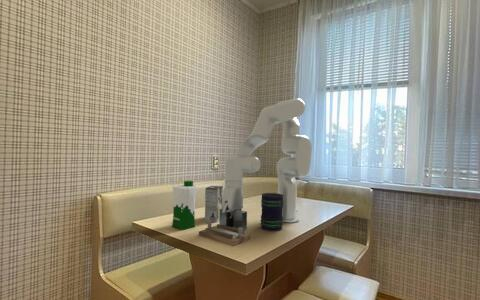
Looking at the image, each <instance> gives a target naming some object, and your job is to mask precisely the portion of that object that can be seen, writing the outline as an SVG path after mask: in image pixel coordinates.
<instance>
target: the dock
mask: <svg viewBox="0 0 480 300" xmlns="http://www.w3.org/2000/svg"><path fill="white" fill-rule="evenodd" d="M212 223H213V222H212V221H211V220H208V221H207V227H205V228H204V229H203V230H200V231H199V230H198V236H200V237H203V238H207V239H210V240H212V241H213V240H214V241H217V242H220V243H225V244H228V245H231V246H237V245H239V244H241V243H243V242H245V241H248V240H249V239H251V234H250V233H249V234H248V233H244V231H243V228H241V227H240V228H238V229H236V228H232V227H228V226H224V225H220V224H219V223H218V224H216V225H214V226H213V225H212Z"/></svg>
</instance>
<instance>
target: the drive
mask: <svg viewBox="0 0 480 300" xmlns="http://www.w3.org/2000/svg"><path fill="white" fill-rule="evenodd" d="M222 211H223V210H222V208H221V209H220V217H219V221H218V222H219V223H218V224H220V225H224V226H226V216H225V214H223V213H222ZM229 214H230V212H229ZM232 218H233V227H232V228H236V229H238V228H240V227H241V228H243V232H244V231H247V229H248V227H247V226H248V225H247V223H248V211H246V210H243V209H242V210H235V211H233V215H232Z"/></svg>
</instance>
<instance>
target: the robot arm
mask: <svg viewBox="0 0 480 300" xmlns="http://www.w3.org/2000/svg"><path fill="white" fill-rule="evenodd" d="M305 110H306V104H305V102H304V100H302V99H301V98H292V99H287V100H282V101H279V102H277V103H276V104H274V105H273V104H272V105H269V106H265V107H263V108H262V109H261V112H260V114H259V116H258V118H257V120H256V123H255V124H254V127H253V130H252V132H251V133H250V134H249V135H248V136H247V137H246V139H245V140H244V141H243V142H241V144H240V145H239V148H238V149H237V151H236V153H235V155H229V156H226V158H225V174H224V176H225V177H224V178H225V180H224V181H225V182H224V185H225V186H224V188H223V197H222V210H223V211H222V213H223V214H225V216H226V226H228V227H233V218H232V215H233V211H235V210H242V211H243V208H244V193H243V192H244V191H243V173H255V172H256V173H257V172H258V171H259V170H260V169H261V165H262V163H261V160H260V159H259V158H258V157H256V156H254V155H252V154H253V152H254V151H255V150H256V149H257V148H258V147H260V146H262V145H264V144H265V143H267V142H268V141H269V139H270V137H271V134H272V132H273V130H274V127H275V125H276V124H282V139H281V151H282V153H284V154H285V155H290V156H285V157H284V156H283V157H281V158H280V159H278V161H277V163H276V175H277V194H282V195H283V208H282V216H283V223H297V222H299V221H300V217H299V216H297V213H298V212H299V211H298V209H297V200H298V199H297V198H298V197H297V196H298V183H297V180H296V178H306V177H307V176H308V175H309V173H310V169H311V161H312V151H313V145H312V141H311V139H310V138H309V137H308V136H307V135H301V134H300V133H301V126H300V122H299V119H297V118H299V117H301V116H302V115H304V113H305ZM291 155H292V156H294V155H295V157H291ZM229 212H230V214H229Z"/></svg>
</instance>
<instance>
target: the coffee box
mask: <svg viewBox="0 0 480 300" xmlns="http://www.w3.org/2000/svg"><path fill="white" fill-rule="evenodd" d="M223 187H224V186H223V185H218V186H217V185H210V186H207V187H205V196H204V203H205V204H204V222H208V220H211V221H212V222H211V223H218V222H219V217H220V209H221V208H222V199H223V191H224V188H223Z"/></svg>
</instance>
